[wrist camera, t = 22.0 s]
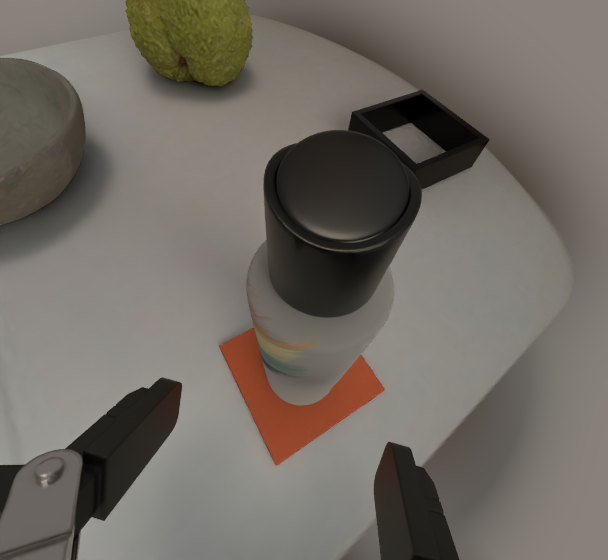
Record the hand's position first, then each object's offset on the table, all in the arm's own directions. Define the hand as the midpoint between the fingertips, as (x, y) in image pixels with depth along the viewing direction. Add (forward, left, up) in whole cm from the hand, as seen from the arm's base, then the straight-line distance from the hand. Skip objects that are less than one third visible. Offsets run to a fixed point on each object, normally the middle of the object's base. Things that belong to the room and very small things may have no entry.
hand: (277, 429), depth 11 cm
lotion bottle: (+3, -4, -12) cm, 13 cm away
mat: (+4, -4, -13) cm, 14 cm away
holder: (+21, -31, -13) cm, 39 cm away
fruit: (+50, -14, -13) cm, 53 cm away
